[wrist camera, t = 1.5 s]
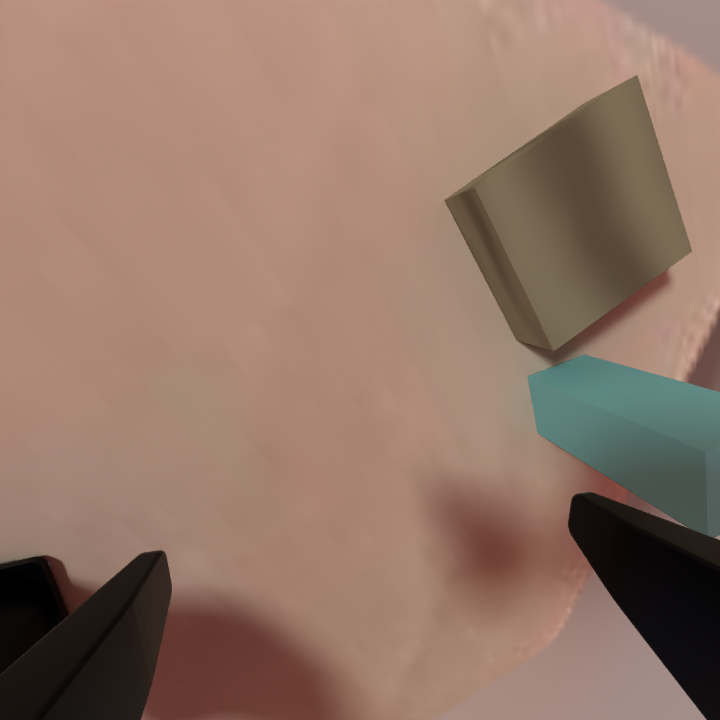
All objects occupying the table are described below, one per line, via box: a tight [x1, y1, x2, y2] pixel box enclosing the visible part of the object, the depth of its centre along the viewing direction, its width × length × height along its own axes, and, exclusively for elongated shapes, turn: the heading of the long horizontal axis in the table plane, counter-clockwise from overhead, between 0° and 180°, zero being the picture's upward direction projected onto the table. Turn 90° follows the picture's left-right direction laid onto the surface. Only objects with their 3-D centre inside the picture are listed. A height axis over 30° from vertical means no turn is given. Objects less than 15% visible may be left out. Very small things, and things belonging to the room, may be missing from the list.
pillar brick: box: [528, 355, 720, 538], centre depth 19 cm, size 4×4×10 cm
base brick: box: [445, 75, 692, 351], centre depth 20 cm, size 9×9×4 cm
